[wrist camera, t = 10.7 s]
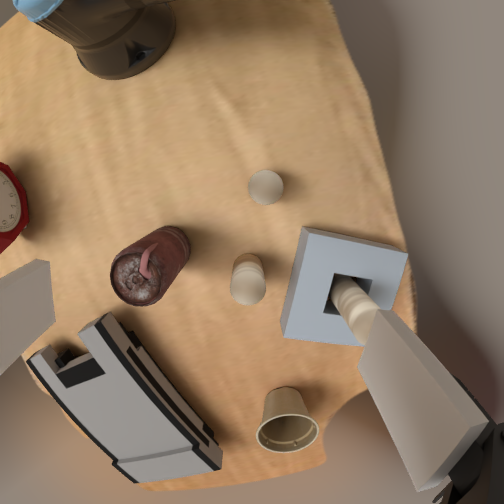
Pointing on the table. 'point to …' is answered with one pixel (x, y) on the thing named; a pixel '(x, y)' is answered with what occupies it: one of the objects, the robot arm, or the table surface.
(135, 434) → the game console
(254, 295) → the dowel medium
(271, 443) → the flower pot
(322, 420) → the table surface
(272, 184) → the dowel short
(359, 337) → the dowel long
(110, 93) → the table surface
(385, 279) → the hole block
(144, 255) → the can
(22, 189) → the alarm clock
